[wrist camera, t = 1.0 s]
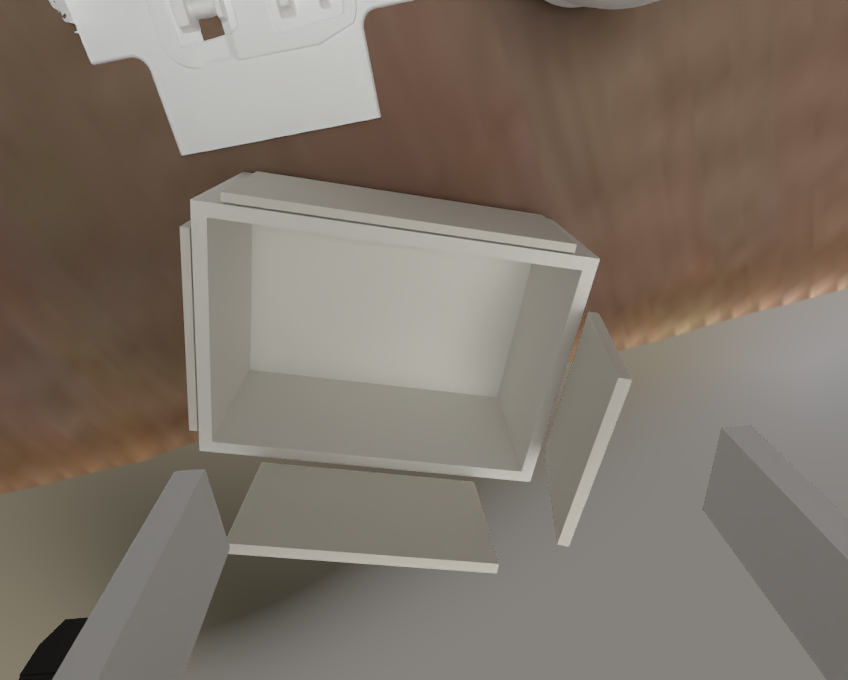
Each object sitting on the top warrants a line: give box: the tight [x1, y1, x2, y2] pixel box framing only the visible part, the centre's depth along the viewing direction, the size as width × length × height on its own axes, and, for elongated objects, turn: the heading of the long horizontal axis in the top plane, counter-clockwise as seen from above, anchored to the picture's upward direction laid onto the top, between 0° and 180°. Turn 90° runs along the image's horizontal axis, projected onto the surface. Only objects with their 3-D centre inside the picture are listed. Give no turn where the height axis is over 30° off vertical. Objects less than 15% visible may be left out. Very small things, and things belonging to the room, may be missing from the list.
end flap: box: [544, 311, 632, 547], centre depth 28 cm, size 8×10×1 cm
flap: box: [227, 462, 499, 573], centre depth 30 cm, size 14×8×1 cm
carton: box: [180, 171, 600, 482], centre depth 35 cm, size 23×17×10 cm
